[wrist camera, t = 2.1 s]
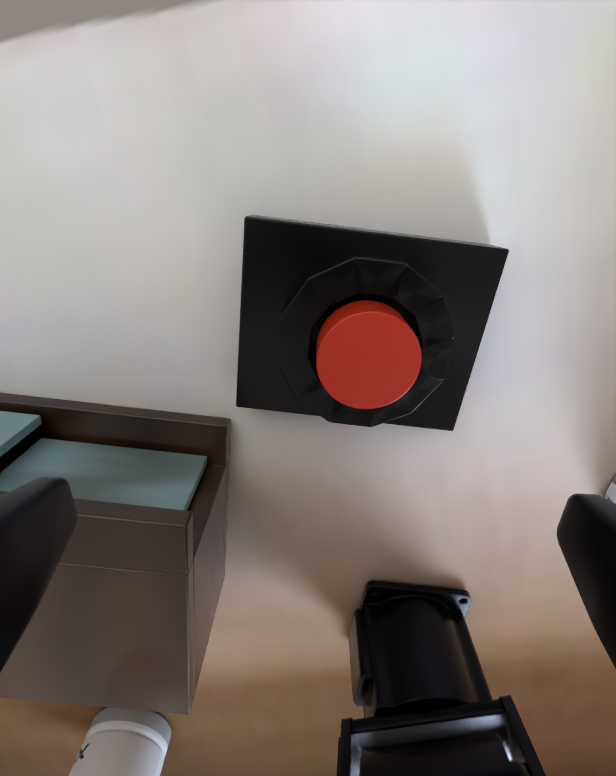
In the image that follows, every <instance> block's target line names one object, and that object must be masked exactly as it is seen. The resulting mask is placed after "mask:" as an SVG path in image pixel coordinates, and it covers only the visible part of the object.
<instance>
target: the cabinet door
mask: <svg viewBox="0 0 616 776" xmlns="http://www.w3.org/2000/svg"><path fill="white" fill-rule="evenodd" d="M41 424H42V422H41V417H40V415H32V414H23V413H15V412H6V411H0V457H1V456H2V455H3V454H5V453H6V452H7V451H8V450H10V449H11V448H12V447H13V446H15V445H16V444H17V443H18V442H20V441H21V440H22V439H23V438H25V437H26V436H27V435H28V434H30V433H31V432H32V431H33V430H35V429H36V428H37V427H38V426H40V425H41Z"/></svg>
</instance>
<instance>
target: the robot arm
mask: <svg viewBox="0 0 616 776" xmlns="http://www.w3.org/2000/svg"><path fill="white" fill-rule="evenodd" d="M76 522H77V510H76V506H75V503H74V499H73V496H72V493H71V489H70V486H69V483H68V481H67V480H66V479H64V478H62V477H40V478H37V479H35V480H33V481H31V482H28V483H26V484H24V485H22V486H20V487H18V488H16V489H14V490H12V491H10V492H8V493H6V494H3V495H1V496H0V673H1V671H2V669H3V668H4V666H5V664H6V662H7V661H8V659H9V657H10V655H11V654H12V652H13V650H14V649H15V647H16V645H17V643H18V642H19V640H20V638H21V636H22V635H23V633H24V631H25V630H26V628H27V626H28V624H29V623H30V621H31V619H32V617H33V615H34V613H35V612H36V610H37V608H38V606H39V604H40V602H41V600H42V598H43V596H44V594H45V592H46V589H47V587H48V585H49V583H50V581H51V578H52V576H53V574H54V572H55V570H56V568H57V565H58V563H59V561H60V559H61V557H62V555H63V552H64V550H65V548H66V546H67V544H68V541H69V539H70V537H71V535H72V533H73V531H74V528H75V526H76ZM557 539H558V543H559V545H560V548H561V550H562V553H563V555H564V557H565V560H566V562H567V564H568V567H569V569H570V572H571V574H572V576H573V579H574V581H575V584H576V586H577V588H578V591H579V593H580V596H581V598H582V600H583V603H584V605H585V607H586V610H587V612H588V615H589V617H590V619H591V621H592V623H593V626H594V628H595V630H596V632H597V634H598V636H599V638H600V640H601V642H602V644H603V646H604V648H605V649H606V651H607V653H608V655H609V657H610V659H611V661H612V663H613V665H614V666H615V668H616V504H615V503H613V502H611V501H609V500H608V499H606V498H604V497H602V496H600V495H596V494H574V495H572V496H570V497H569V499H568V501H567V503H566V506H565V509H564V511H563V514H562V517H561V519H560V522H559V525H558V528H557ZM470 603H471V598H470V595H469V593H468V592H467V591H466V590H460V589H450V588H440V587H431V586H421V585H411V584H402V583H392V582H382V581H370V582H368V583H367V584H366V586H365V590H364V594H363V598H362V602H361V606H360V608H357V609H356V610H355V611H354V615H353V619H352V624H351V628H350V632H349V649H350V663H351V678H352V692H353V701H354V703H355V704H356V706H362V707H363V709H364V718H361V719H354V720H353V719H352V718H346V719H342V723H341V737H339V742H338V762H337V776H546V775H545V773H544V770H543V768H542V766H541V764H540V761H539V759H538V757H537V755H536V752H535V750H534V748H533V745H532V743H531V741H530V739H529V736H528V734H527V732H526V730H525V727H524V725H523V723H522V720H521V718H520V716H519V714H518V711H517V709H516V707H515V704H514V702H513V700H512V698H511V696H510V695H507V696H500V697H499V698H500V699H495V700H493V699H492V696H491V694H490V691H489V688H488V685H487V682H486V679H485V676H484V674H483V671H482V668H481V665H480V662H479V659H478V656H477V653H476V651H475V648H474V645H473V642H472V639H471V636H470V633H469V631H468V628H467V625H466V622H465V619H464V618H465V615H466V613H467V611H468V608H469V606H470Z"/></svg>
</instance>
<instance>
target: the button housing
mask: <svg viewBox="0 0 616 776" xmlns="http://www.w3.org/2000/svg"><path fill="white" fill-rule="evenodd" d="M508 252H509V250H508V249H505V248H501V247H497V246H493V245H488V244H480V243H472V242H464V241H456V240H448V239H440V238H432V237H424V236H416V235H408V234H400V233H392V232H385V231H377V230H369V229H361V228H353V227H345V226H337V225H329V224H321V223H313V222H305V221H297V220H289V219H281V218H274V217H266V216H258V215H250V216H246V217H245V220H244V242H243V264H242V286H241V308H240V330H239V352H238V374H237V396H236V406H237V407H245V408H254V409H263V410H272V411H280V412H289V413H298V414H307V415H316V416H321V417H323V418H324V419H326V420H327V421H329V422H332V423H341V424H349V425H358V426H367V427H373V426H376V425H379V424H382V423H386V424H395V425H404V426H412V427H421V428H430V429H439V430H448V431H453V429H454V426H455V423H456V420H457V416H458V413H459V410H460V407H461V404H462V400H463V397H464V394H465V391H466V387H467V384H468V381H469V378H470V375H471V371H472V368H473V365H474V362H475V358H476V355H477V352H478V349H479V346H480V342H481V339H482V336H483V333H484V329H485V326H486V323H487V320H488V317H489V313H490V310H491V307H492V304H493V300H494V297H495V294H496V291H497V287H498V284H499V281H500V278H501V275H502V271H503V268H504V265H505V262H506V258H507V255H508ZM359 300H373V301H379V302H382V303H385V304H387V305H389V306H391V307H392V308H394V309H395V310H396V311H397V312H399V313H400V314H401V316H402V317H403V318H404V319H405V321H406V322H407V323H408V325H409V326H410V328H411V329H412V330H413V332H414V333H415V335H416V337H417V339H418V341H419V344H420V348H421V367H420V371H419V374H418V376H417V378H416V380H415V382H414V384H413V385H412V387H411V388H410V389H409V390H408V391H407V392H406V393H405V394H404V395H403V396H402V397H401V398H399V399H398V400H396V401H394V402H393V403H391V404H388V405H386V406H383V407H380V408H374V409H359V408H353V407H350V406H347V405H345V404H342V403H340V402H339V401H337V400H336V399H334V398H333V397H332V396H331V395H330V394H329V393H328V392H327V391H326V390H325V388H324V387H323V385H322V383H321V382H320V379H319V376H318V373H317V367H316V347H317V338H318V334H319V332H320V329H321V327H322V325H323V324H324V322H325V321H326V319H327V318H328V317H329V316H330V315H331V314H332V313H333V312H334V311H335V310H337V309H338V308H340V307H342V306H344V305H346V304H348V303H351V302H354V301H359Z"/></svg>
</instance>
